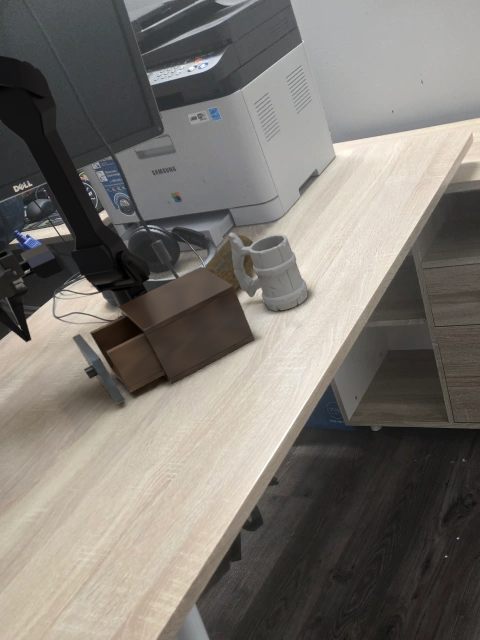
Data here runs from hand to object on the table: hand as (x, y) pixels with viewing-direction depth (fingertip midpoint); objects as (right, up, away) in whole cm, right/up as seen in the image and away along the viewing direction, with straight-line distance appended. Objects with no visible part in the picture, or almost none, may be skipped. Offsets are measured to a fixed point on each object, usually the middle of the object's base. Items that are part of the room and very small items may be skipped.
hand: (28, 340), depth 93 cm
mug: (+33, +11, +17) cm, 39 cm away
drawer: (+14, -3, +7) cm, 16 cm away
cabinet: (+21, +1, +11) cm, 24 cm away
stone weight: (+24, +16, +26) cm, 39 cm away
